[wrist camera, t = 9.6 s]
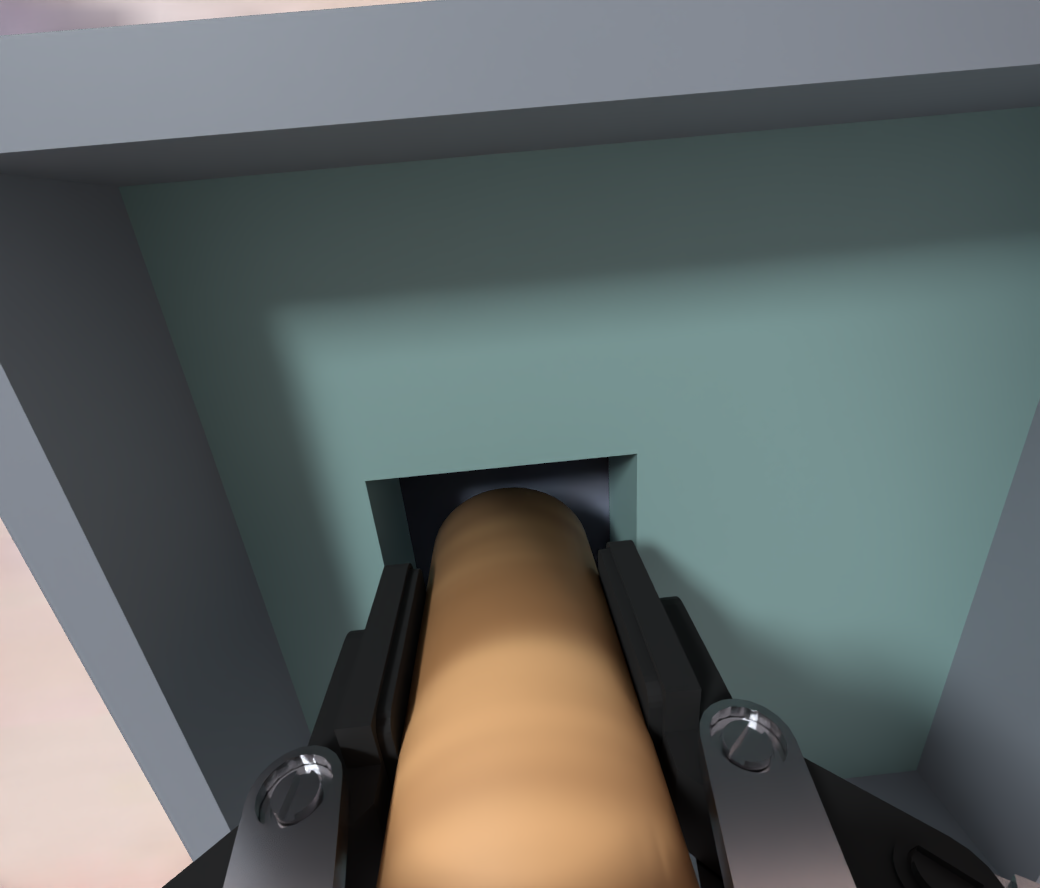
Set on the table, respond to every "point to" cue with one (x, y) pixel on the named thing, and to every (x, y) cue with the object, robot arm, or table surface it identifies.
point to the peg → (525, 720)
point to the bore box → (540, 355)
